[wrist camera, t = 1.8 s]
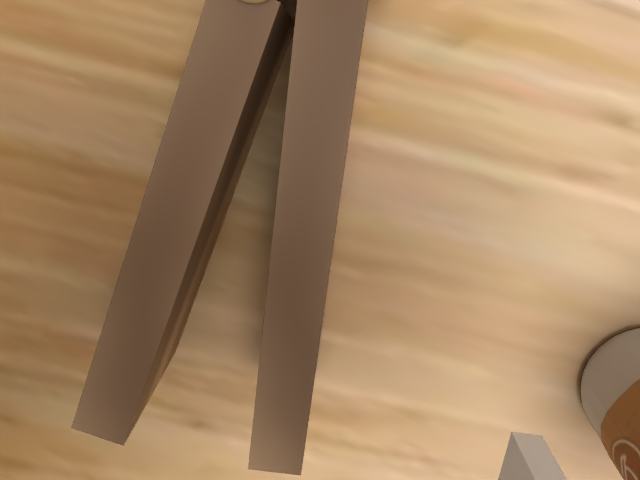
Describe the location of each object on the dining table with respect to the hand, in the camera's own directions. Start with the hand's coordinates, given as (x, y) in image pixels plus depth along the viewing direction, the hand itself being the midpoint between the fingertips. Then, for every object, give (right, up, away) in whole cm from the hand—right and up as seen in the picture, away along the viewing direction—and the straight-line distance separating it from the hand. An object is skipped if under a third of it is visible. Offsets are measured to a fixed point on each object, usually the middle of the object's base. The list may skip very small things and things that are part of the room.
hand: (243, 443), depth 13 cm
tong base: (+1, +9, +10) cm, 13 cm away
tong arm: (-3, +7, +11) cm, 13 cm away
